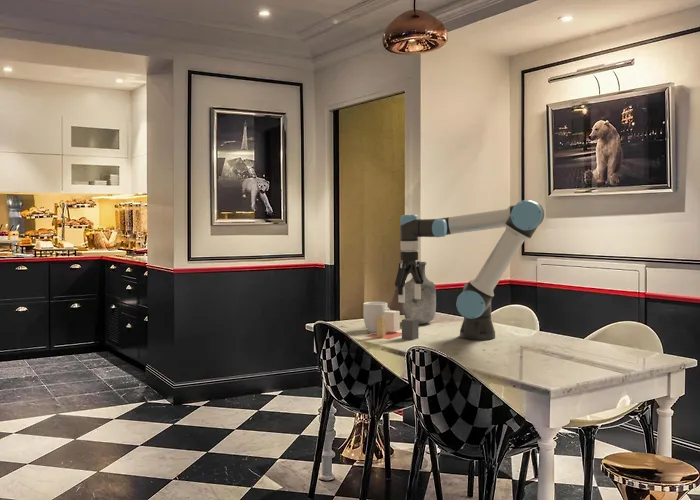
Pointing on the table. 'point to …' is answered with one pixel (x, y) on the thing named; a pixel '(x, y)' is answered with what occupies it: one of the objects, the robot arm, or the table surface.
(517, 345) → the table surface
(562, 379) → the table surface
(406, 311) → the vase
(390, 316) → the stand
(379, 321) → the post
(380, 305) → the mug
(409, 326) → the dark gray block
